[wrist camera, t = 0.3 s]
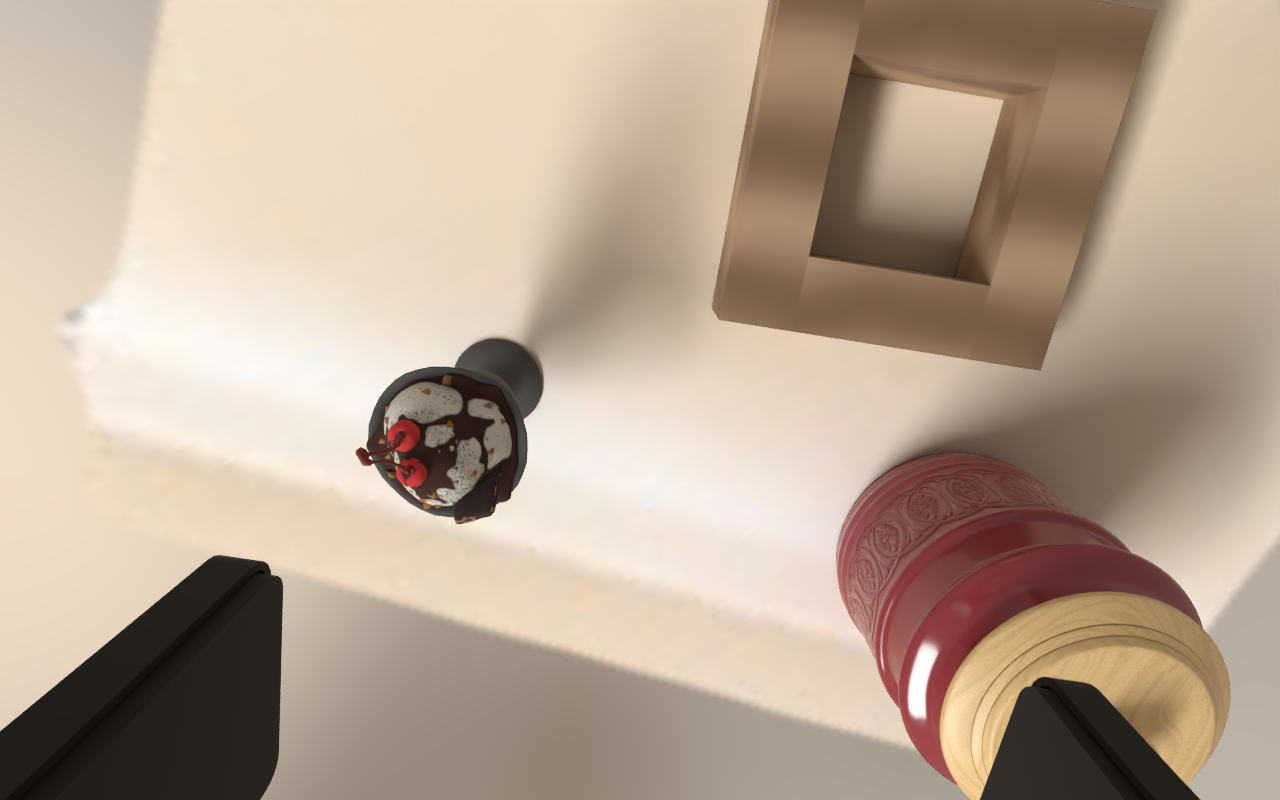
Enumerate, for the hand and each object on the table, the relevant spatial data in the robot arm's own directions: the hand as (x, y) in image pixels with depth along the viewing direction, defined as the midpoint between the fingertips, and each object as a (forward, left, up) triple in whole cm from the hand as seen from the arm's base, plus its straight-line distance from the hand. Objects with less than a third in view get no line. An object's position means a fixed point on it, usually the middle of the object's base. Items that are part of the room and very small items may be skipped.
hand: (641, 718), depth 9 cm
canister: (+11, +20, -31) cm, 38 cm away
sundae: (+5, -7, -31) cm, 32 cm away
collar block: (-9, +12, -30) cm, 34 cm away
